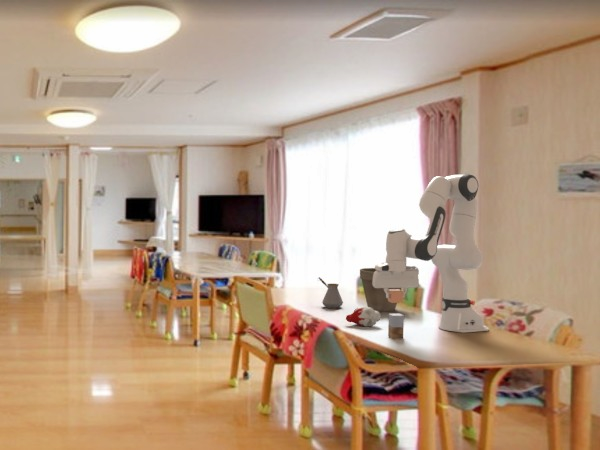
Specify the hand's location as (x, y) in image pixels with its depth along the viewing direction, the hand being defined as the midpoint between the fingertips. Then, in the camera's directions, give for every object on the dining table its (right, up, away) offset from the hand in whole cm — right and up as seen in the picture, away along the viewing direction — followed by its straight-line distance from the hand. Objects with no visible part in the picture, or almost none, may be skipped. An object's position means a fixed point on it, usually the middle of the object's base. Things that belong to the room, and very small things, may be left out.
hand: (395, 298), depth 269 cm
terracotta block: (0, -2, 0) cm, 2 cm away
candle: (-12, -16, +25) cm, 32 cm away
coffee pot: (-26, -14, +78) cm, 84 cm away
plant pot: (+3, -15, +70) cm, 72 cm away
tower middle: (0, -12, 0) cm, 12 cm away
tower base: (0, -17, 0) cm, 17 cm away
